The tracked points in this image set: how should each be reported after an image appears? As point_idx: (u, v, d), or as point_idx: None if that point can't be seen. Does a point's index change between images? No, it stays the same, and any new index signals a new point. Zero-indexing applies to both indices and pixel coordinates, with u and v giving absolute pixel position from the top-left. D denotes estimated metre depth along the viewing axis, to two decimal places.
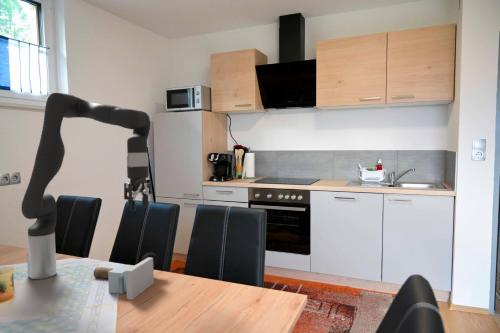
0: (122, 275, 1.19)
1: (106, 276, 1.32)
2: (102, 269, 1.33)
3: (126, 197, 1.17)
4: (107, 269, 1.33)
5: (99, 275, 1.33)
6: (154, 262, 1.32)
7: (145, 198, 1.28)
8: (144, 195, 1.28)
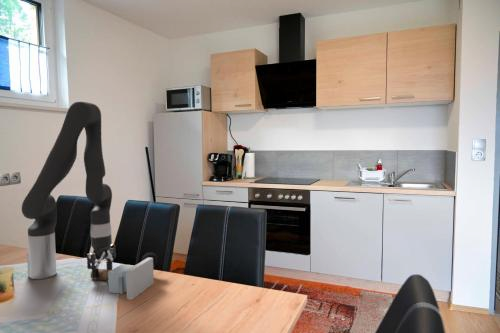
0: (122, 275, 1.19)
1: None
2: None
3: (89, 267, 1.28)
4: (102, 275, 1.30)
5: None
6: (154, 262, 1.32)
7: (109, 263, 1.38)
8: (108, 260, 1.38)
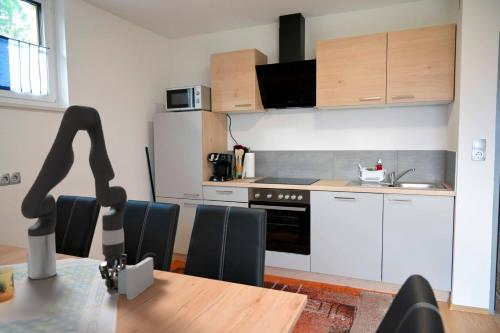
0: None
1: None
2: (114, 278, 1.23)
3: (104, 278, 1.19)
4: None
5: None
6: (154, 262, 1.32)
7: None
8: (117, 272, 1.26)
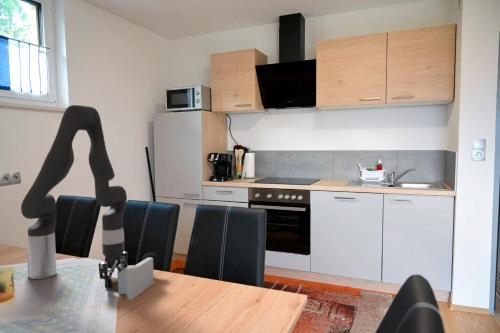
0: None
1: None
2: (114, 279, 1.23)
3: (102, 277, 1.18)
4: None
5: None
6: (154, 262, 1.32)
7: None
8: (119, 270, 1.27)
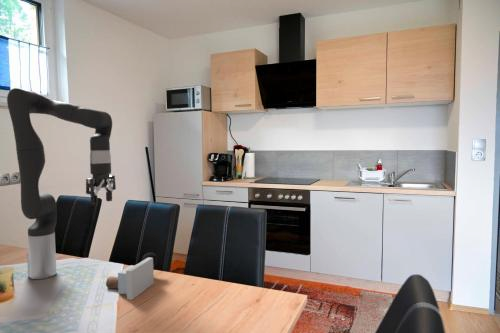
0: None
1: None
2: (116, 278, 1.24)
3: (88, 192, 1.26)
4: None
5: (112, 284, 1.23)
6: (154, 262, 1.32)
7: (109, 193, 1.36)
8: (108, 190, 1.36)
